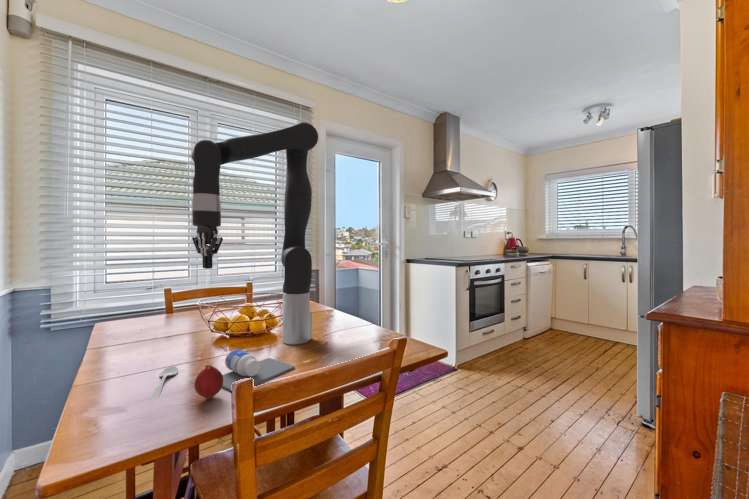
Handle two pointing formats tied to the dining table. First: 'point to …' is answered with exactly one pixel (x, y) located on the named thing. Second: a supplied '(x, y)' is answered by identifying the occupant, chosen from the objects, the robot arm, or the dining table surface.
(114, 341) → the dining table surface
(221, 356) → the dining table surface
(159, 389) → the spoon
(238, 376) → the mat
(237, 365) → the pill bottle
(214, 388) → the onion
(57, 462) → the dining table surface
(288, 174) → the robot arm
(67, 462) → the dining table surface
